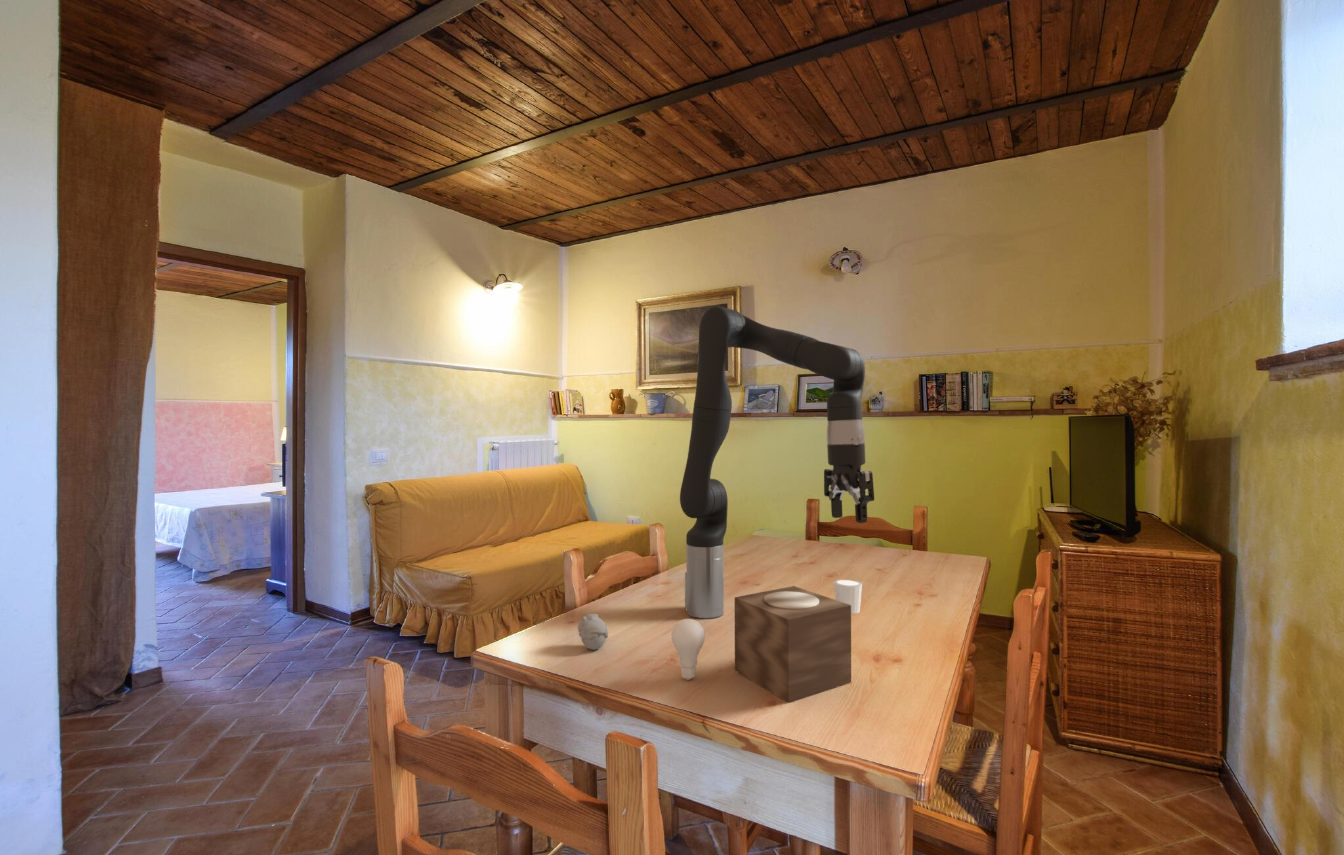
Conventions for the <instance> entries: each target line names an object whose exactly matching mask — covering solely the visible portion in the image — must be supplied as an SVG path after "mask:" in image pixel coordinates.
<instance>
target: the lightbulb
mask: <svg viewBox="0 0 1344 855" xmlns="http://www.w3.org/2000/svg"><path fill="white" fill-rule="evenodd" d="M705 639H706V635H705V630H704V628H703V626H702V625H701V624H700V623H699V622H698V621H697V620H695V619H692V618H684V619H681V620H679V621H677V623H676V624H674V626H673V629H672V630H671V642H672V644H673V647H674V648H675V650H676V652H677V655H678V658H679V665H680V668H681V669H680V672H681V677H682V678H684V679H685V680H688V681H690V680H692V679H693V678H695V676H696V668H697V667H696V666H697V664H698V657H699V653H700V651H701V649H702V648H703V645H704V643H705Z"/></svg>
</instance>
